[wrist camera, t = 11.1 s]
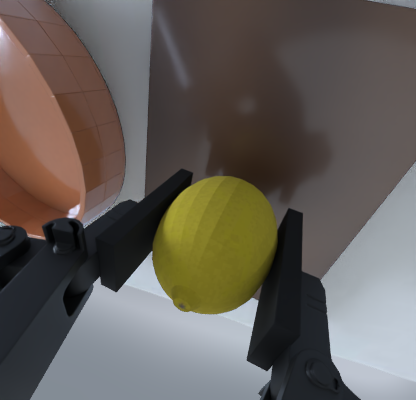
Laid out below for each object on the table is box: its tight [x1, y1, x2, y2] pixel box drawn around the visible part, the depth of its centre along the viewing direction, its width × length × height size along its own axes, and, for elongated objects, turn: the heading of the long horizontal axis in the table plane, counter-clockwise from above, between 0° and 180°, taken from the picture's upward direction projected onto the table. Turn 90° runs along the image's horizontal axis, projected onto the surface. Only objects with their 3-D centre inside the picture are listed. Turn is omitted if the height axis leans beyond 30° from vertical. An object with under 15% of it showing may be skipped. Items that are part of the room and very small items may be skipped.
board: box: [145, 0, 416, 300], centre depth 15 cm, size 15×20×2 cm
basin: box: [0, 0, 125, 240], centre depth 19 cm, size 21×21×4 cm
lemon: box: [152, 176, 278, 314], centre depth 11 cm, size 6×6×8 cm
